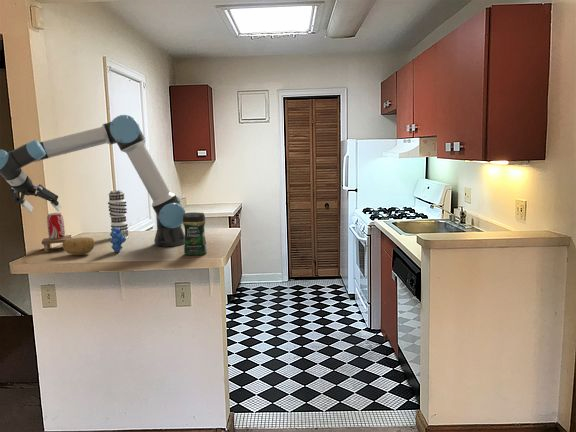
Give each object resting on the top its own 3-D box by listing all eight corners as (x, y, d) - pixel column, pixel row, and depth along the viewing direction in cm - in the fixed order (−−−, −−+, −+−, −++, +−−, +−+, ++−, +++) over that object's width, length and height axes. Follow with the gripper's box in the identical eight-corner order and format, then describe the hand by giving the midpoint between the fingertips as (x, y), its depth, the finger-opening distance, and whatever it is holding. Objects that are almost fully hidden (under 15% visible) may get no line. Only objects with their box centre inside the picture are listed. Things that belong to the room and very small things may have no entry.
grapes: (123, 255, 209) (121, 228, 207) (108, 255, 209) (105, 229, 207) (130, 249, 220) (128, 224, 219) (115, 249, 220) (113, 224, 218)
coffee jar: (182, 256, 204) (179, 214, 201) (188, 251, 212) (185, 211, 209) (204, 256, 203) (201, 213, 200) (209, 251, 211) (206, 211, 208)
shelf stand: (71, 250, 222) (70, 239, 221) (42, 253, 218) (41, 242, 217) (72, 245, 233) (71, 234, 232) (45, 247, 229) (44, 237, 228)
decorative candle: (122, 240, 243) (118, 191, 239) (107, 239, 245) (103, 191, 241) (133, 236, 251) (129, 190, 247) (117, 235, 254) (113, 190, 250)
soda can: (58, 239, 221) (55, 214, 219) (45, 239, 222) (42, 214, 220) (68, 236, 227) (65, 212, 225) (56, 236, 229) (53, 212, 227)
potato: (69, 252, 217) (68, 235, 216) (99, 252, 216) (97, 235, 215) (58, 258, 207) (56, 240, 206) (89, 257, 207) (87, 239, 205)
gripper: (-13, 188, 197) (17, 217, 214) (43, 185, 194) (68, 215, 211) (-5, 174, 202) (23, 204, 219) (49, 172, 199) (73, 201, 216)
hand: (45, 209), depth 215 cm, fingers open, 13 cm apart
